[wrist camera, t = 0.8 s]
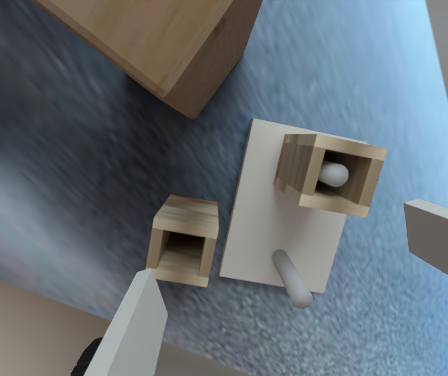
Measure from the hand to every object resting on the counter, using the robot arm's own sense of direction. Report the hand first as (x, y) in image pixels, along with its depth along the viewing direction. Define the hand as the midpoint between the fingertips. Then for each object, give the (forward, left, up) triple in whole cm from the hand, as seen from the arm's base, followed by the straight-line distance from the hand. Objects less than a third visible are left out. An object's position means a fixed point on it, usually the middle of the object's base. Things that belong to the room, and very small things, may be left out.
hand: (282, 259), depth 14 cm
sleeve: (-6, -6, -21) cm, 23 cm away
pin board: (+6, -2, -21) cm, 22 cm away
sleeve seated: (+6, +4, -19) cm, 21 cm away
